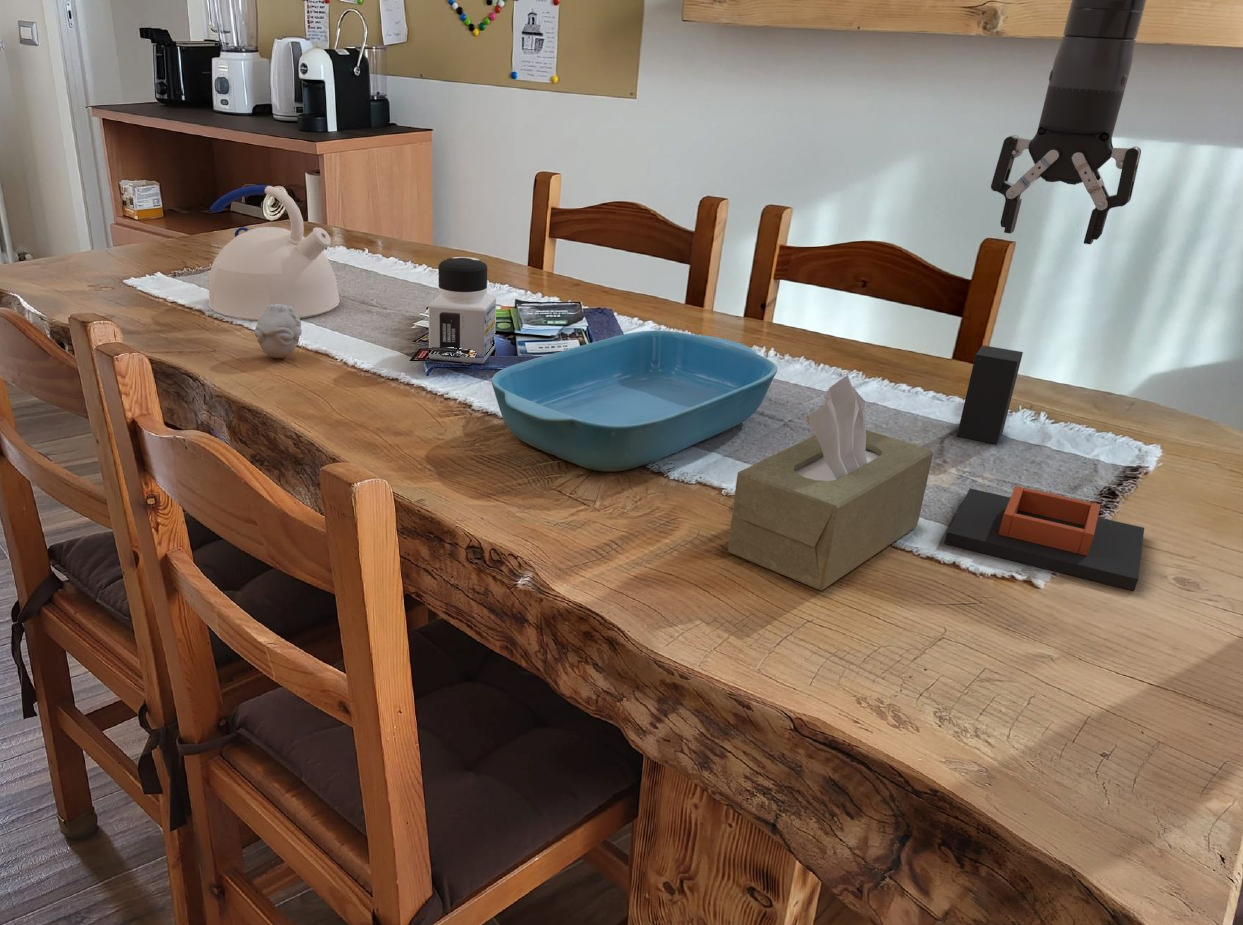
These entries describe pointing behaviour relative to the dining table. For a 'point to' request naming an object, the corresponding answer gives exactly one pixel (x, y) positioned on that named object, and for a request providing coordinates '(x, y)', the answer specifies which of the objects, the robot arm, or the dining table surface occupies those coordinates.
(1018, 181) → the robot arm
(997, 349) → the black rectangular block
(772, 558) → the tissue box
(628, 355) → the casserole dish
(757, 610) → the dining table surface
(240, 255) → the kettle
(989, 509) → the base mat
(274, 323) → the grey rounded lump
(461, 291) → the container
